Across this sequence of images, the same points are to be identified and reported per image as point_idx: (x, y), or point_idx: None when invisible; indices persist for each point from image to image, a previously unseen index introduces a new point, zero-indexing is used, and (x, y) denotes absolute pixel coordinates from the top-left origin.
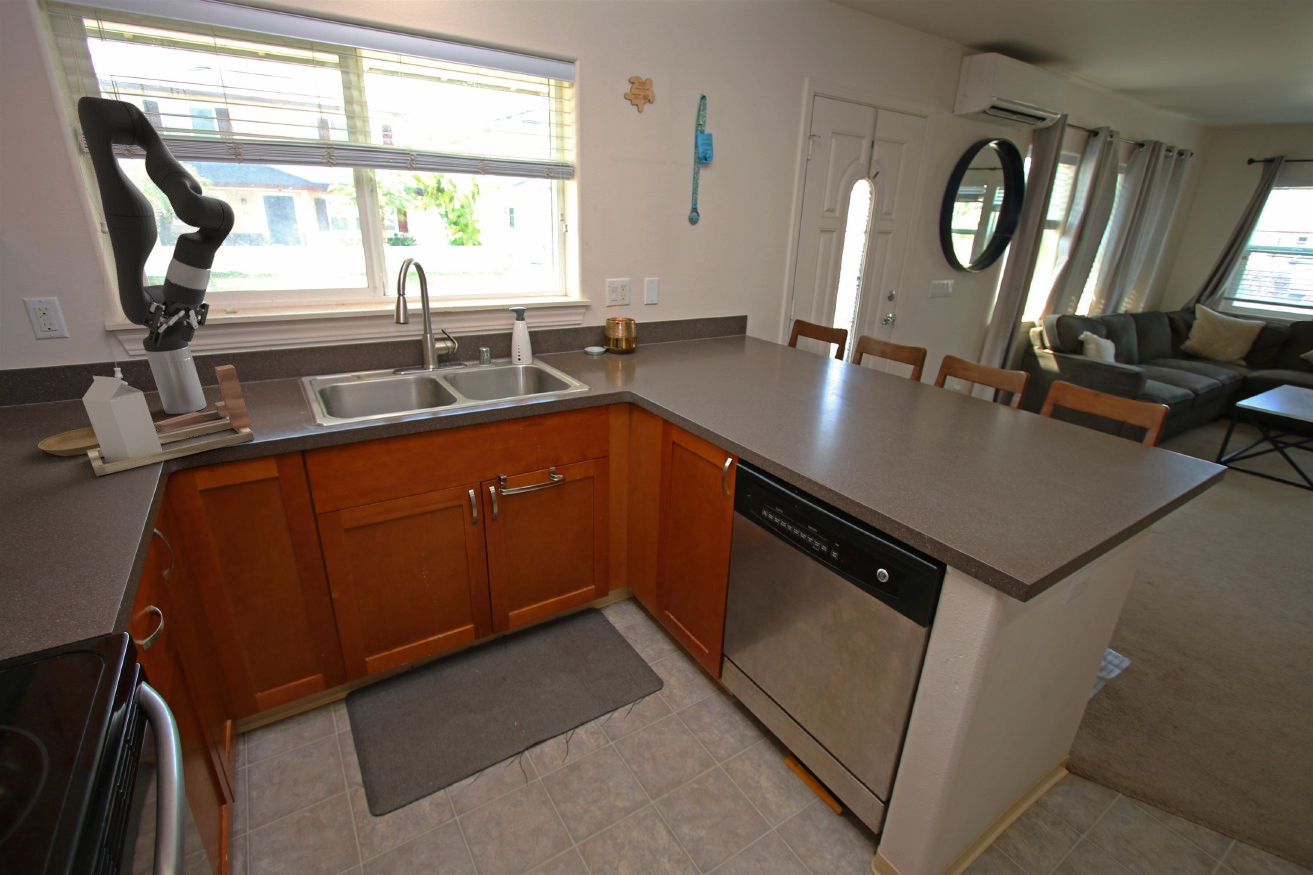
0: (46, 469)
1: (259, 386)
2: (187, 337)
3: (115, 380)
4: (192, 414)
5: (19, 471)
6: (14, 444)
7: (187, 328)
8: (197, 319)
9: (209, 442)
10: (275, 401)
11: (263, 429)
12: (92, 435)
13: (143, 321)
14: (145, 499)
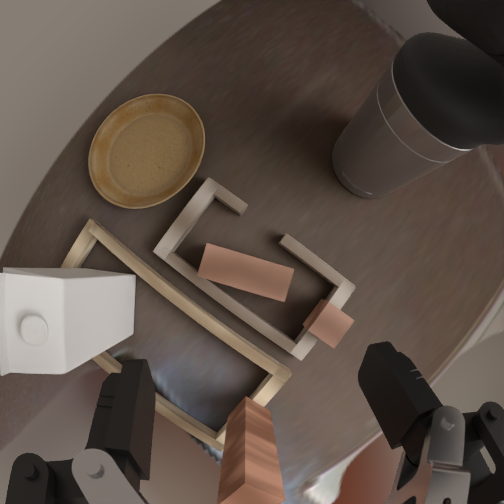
0: (64, 194)
1: (488, 208)
2: (370, 389)
3: (2, 357)
4: (274, 281)
5: (60, 163)
6: (156, 50)
7: (400, 422)
8: (476, 447)
9: (160, 413)
10: (432, 315)
11: (277, 422)
12: (187, 123)
13: (12, 484)
14: (35, 414)
